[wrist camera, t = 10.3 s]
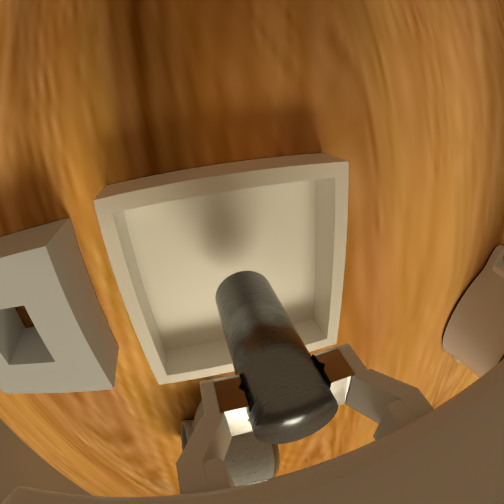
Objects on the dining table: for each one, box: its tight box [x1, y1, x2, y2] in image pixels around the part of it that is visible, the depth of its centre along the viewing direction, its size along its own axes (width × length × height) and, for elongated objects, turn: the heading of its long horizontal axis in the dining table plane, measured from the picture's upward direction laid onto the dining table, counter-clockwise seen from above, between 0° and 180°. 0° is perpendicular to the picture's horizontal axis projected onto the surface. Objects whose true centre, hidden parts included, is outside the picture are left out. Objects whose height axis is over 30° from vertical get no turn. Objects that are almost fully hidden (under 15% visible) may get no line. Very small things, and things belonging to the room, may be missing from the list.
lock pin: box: [215, 271, 338, 444], centre depth 12 cm, size 3×3×8 cm
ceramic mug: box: [181, 401, 280, 486], centre depth 23 cm, size 11×8×8 cm
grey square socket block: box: [0, 218, 119, 393], centre depth 15 cm, size 10×10×4 cm
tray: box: [93, 153, 348, 385], centre depth 18 cm, size 13×13×3 cm
